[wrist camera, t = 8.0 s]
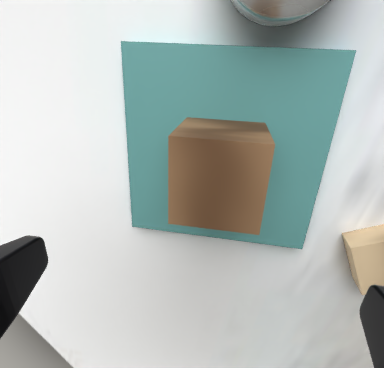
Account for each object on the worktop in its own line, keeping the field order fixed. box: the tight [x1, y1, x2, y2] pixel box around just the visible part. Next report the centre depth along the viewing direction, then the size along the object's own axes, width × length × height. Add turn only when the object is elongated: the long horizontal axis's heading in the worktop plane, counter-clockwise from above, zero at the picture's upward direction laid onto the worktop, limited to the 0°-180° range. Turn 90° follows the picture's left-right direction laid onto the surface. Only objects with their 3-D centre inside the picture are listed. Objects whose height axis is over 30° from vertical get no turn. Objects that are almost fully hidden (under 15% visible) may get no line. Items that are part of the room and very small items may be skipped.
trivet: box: [121, 41, 356, 249], centre depth 16 cm, size 12×12×1 cm
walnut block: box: [168, 117, 275, 235], centre depth 14 cm, size 4×4×4 cm
